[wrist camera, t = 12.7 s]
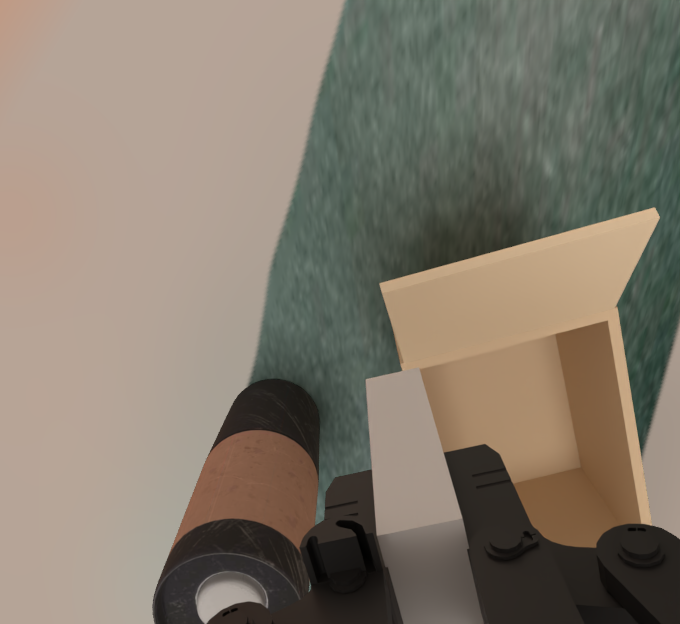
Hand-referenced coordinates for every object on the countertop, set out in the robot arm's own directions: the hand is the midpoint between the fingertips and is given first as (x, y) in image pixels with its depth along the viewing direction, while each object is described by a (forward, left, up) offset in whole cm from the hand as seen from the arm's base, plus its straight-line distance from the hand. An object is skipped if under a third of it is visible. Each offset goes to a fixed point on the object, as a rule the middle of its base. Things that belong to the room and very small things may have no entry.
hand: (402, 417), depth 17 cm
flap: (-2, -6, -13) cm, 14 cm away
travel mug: (-12, +11, -28) cm, 33 cm away
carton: (-14, -6, -28) cm, 32 cm away
